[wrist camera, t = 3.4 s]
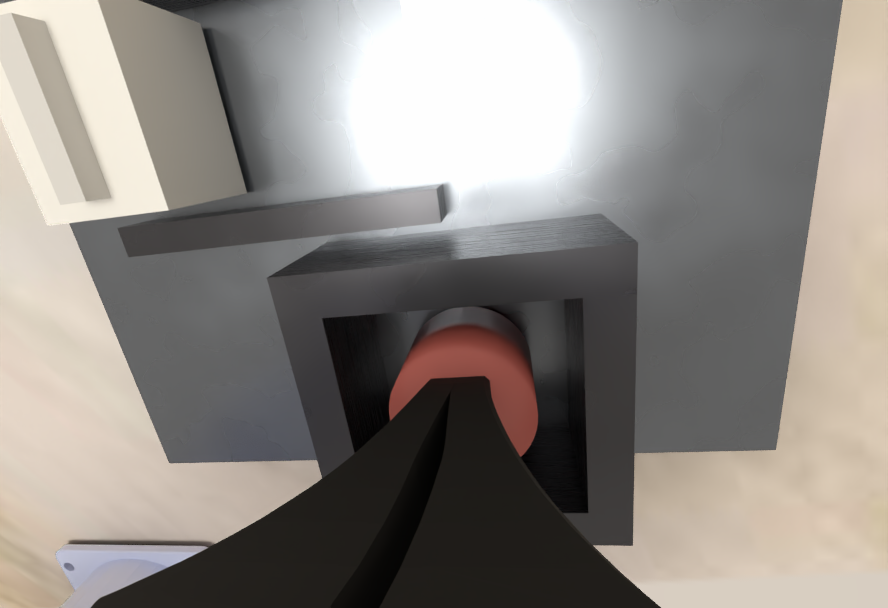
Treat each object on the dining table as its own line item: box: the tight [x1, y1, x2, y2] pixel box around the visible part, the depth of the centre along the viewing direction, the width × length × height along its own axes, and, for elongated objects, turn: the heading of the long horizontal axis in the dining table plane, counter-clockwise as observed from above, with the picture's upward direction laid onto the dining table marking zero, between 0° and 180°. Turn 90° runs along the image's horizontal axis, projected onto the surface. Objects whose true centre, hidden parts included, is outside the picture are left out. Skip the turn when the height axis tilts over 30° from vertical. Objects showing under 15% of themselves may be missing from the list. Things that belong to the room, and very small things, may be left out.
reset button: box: [389, 307, 538, 457], centre depth 11 cm, size 3×3×3 cm
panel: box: [0, 0, 843, 546], centre depth 11 cm, size 15×20×5 cm
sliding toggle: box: [0, 0, 247, 226], centre depth 10 cm, size 4×3×4 cm
